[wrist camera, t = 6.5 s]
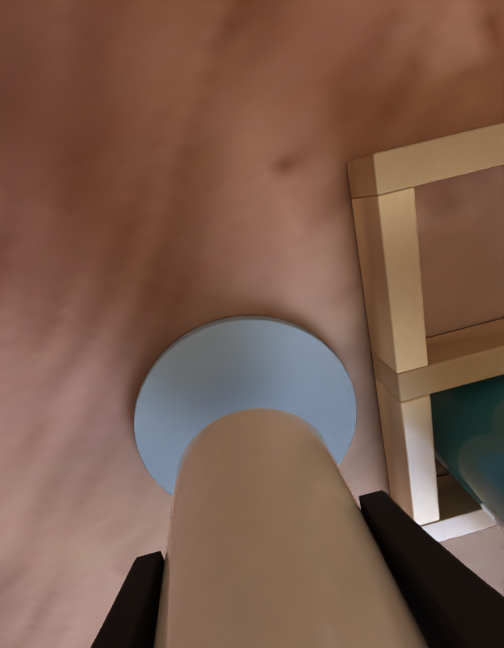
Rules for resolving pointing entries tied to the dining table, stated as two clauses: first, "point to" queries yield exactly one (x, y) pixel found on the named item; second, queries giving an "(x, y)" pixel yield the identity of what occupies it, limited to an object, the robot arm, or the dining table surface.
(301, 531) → the cream cup
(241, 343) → the coaster
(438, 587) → the robot arm
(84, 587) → the dining table surface
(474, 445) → the teal cup
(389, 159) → the cup holder
